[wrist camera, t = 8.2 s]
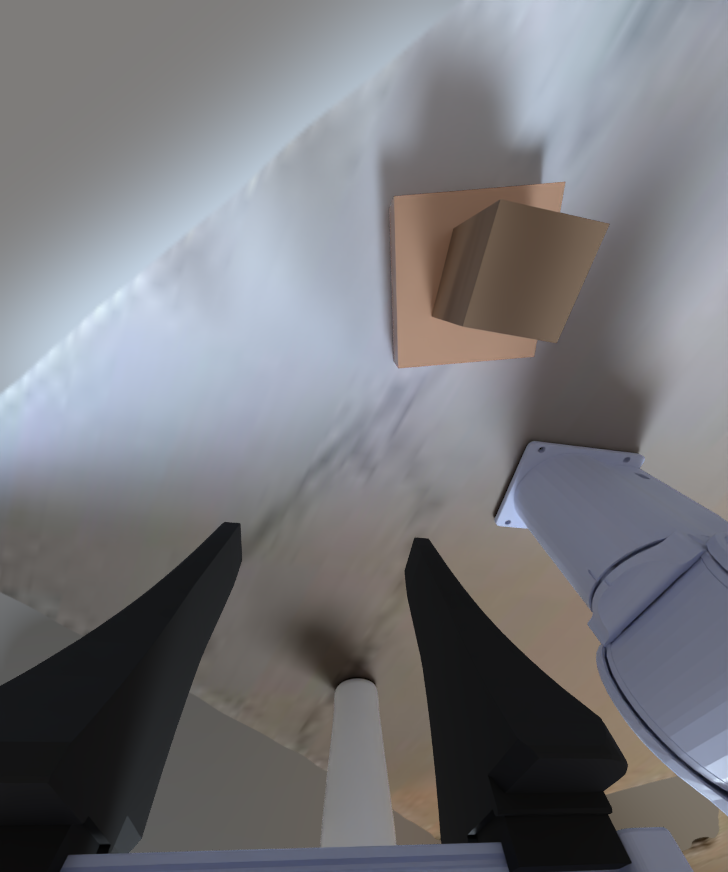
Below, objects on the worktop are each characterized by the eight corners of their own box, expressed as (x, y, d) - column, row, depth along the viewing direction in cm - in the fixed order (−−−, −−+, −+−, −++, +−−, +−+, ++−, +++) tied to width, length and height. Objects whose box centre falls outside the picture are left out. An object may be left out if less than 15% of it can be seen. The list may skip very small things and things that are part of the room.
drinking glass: (328, 701, 37) (316, 931, 24) (328, 673, 34) (314, 916, 21) (380, 700, 38) (397, 925, 24) (385, 672, 35) (407, 910, 21)
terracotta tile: (534, 198, 16) (565, 181, 13) (512, 349, 19) (534, 356, 17) (387, 210, 16) (394, 196, 13) (392, 359, 19) (398, 368, 17)
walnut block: (530, 244, 14) (609, 224, 10) (500, 328, 16) (556, 343, 12) (453, 228, 14) (500, 199, 9) (431, 316, 16) (462, 326, 11)
